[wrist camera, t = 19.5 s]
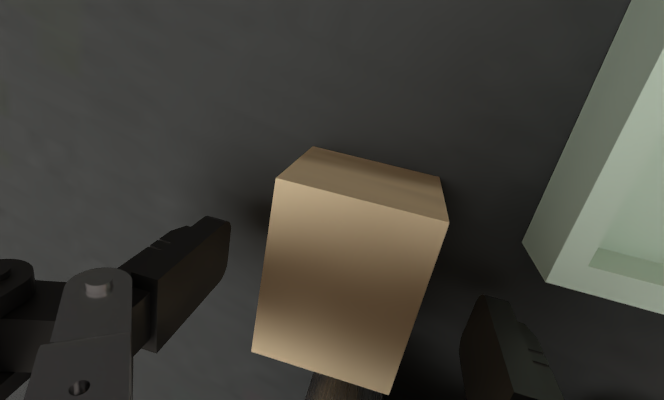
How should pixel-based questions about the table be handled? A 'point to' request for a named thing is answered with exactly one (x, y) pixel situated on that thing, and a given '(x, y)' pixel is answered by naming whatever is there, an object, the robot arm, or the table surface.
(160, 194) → the table surface
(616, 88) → the tray
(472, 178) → the table surface
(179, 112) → the table surface
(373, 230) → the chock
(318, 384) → the trolley
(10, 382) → the robot arm
